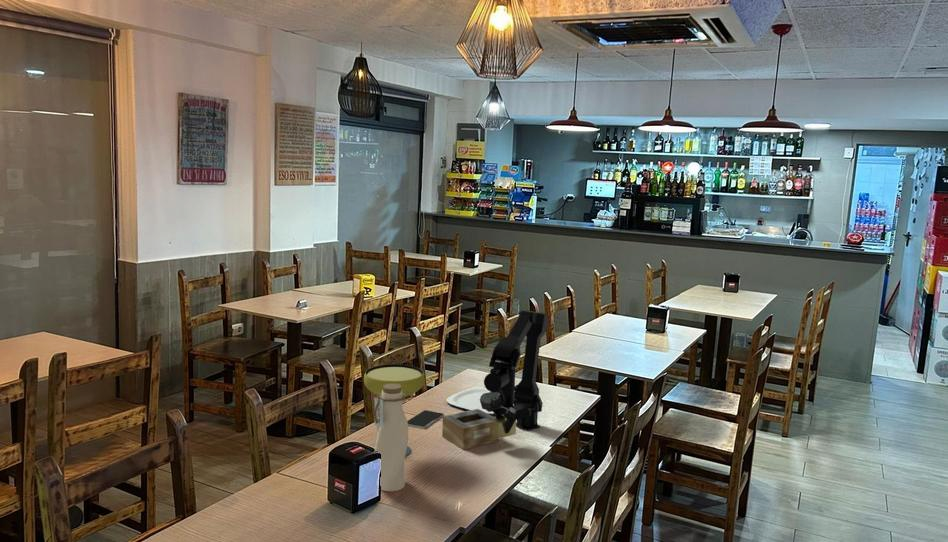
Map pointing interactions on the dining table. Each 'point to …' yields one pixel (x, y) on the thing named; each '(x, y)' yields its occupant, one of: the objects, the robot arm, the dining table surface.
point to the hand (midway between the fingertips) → (503, 431)
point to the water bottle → (391, 436)
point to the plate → (469, 399)
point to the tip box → (468, 428)
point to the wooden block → (501, 428)
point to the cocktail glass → (394, 380)
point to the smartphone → (424, 419)
